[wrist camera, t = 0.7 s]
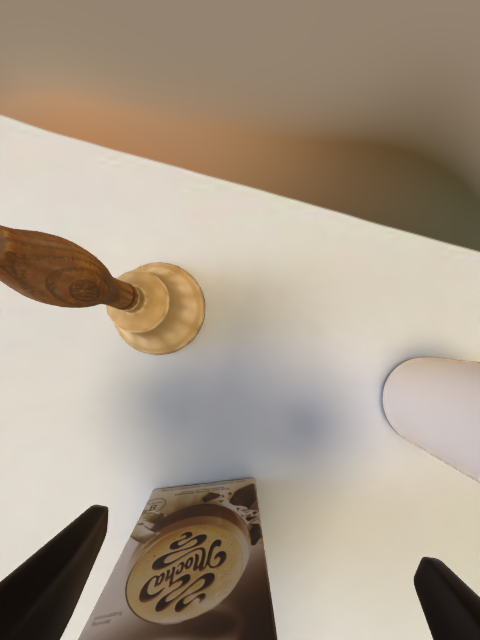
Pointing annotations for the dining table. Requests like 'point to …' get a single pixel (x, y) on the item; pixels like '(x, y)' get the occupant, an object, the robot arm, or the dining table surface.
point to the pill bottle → (438, 409)
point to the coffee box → (190, 570)
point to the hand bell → (105, 289)
